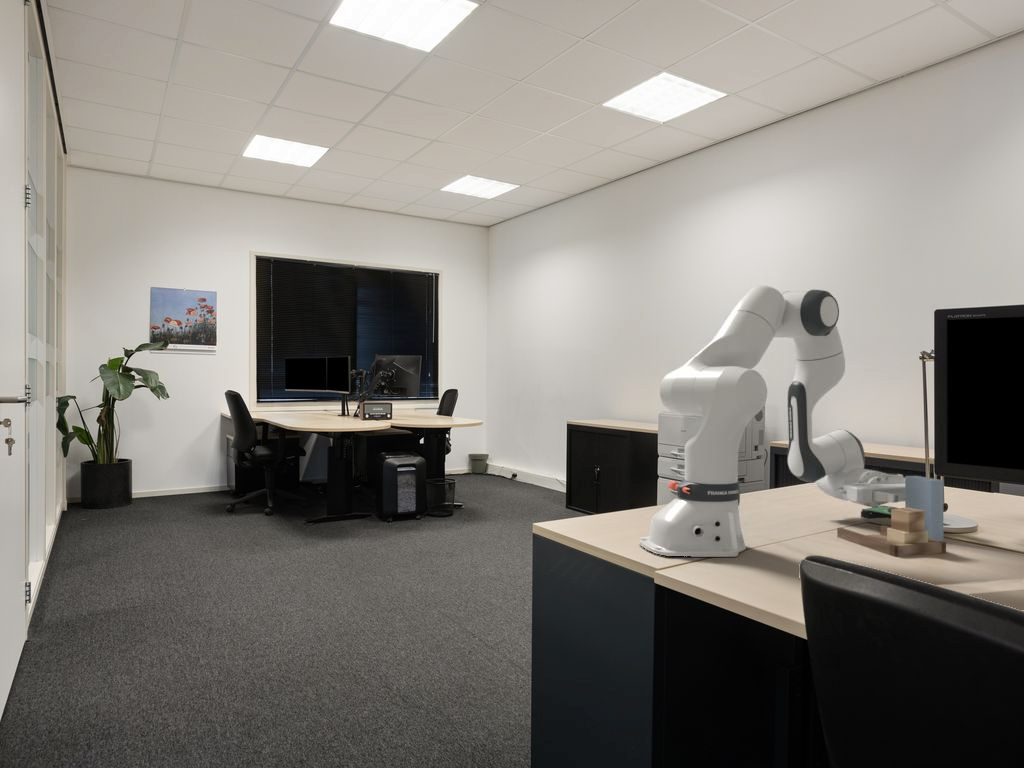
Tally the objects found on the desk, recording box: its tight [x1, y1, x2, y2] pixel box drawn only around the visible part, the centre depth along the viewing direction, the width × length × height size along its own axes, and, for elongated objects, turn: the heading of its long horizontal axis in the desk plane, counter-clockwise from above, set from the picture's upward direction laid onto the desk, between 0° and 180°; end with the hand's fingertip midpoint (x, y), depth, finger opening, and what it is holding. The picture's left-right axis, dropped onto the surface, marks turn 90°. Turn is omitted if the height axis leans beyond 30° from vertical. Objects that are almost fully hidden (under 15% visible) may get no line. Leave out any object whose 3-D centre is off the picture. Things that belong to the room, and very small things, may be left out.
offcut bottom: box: [887, 528, 928, 544], centre depth 130 cm, size 6×4×4 cm
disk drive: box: [860, 505, 898, 520], centre depth 164 cm, size 10×3×15 cm
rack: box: [836, 524, 947, 557], centre depth 134 cm, size 12×16×4 cm
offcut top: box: [890, 507, 925, 533], centre depth 130 cm, size 4×4×4 cm
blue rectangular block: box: [904, 475, 944, 542], centre depth 140 cm, size 3×7×14 cm, turn 11°
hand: (914, 497), depth 143 cm, fingers open, 8 cm apart
